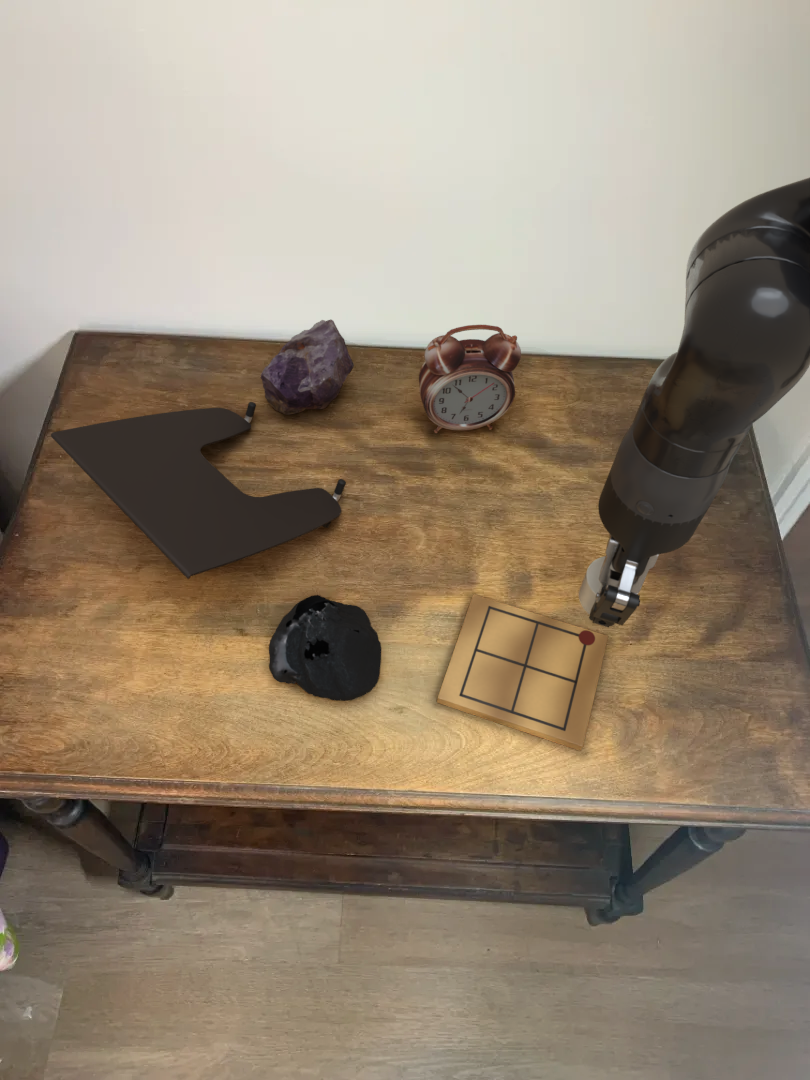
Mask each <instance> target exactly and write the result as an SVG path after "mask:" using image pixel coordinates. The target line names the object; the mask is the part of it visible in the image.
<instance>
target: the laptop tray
mask: <svg viewBox="0 0 810 1080" xmlns="http://www.w3.org/2000/svg"><path fill="white" fill-rule="evenodd" d="M256 408H257V404H256V402H253V401H250V402H248V404H247V407H246V411H245V416H244V417H242V416H241V415H240V414H238V413H236V412H234V410H231V409H228V408H224V407H205V408H196V409H195V408H194V409H185V410H184V409H183V410H178V411H177V410H176V411H169V412H168V411H167V412H160V413H153V414H147V415H141V416H134V417H128V418H122V419H117V420H110V421H105V422H98V423H94V424H87V425H83V426H78V427H77V426H76V427H73V428H68V429H67V428H66V429H63V430H57V431H53V432H52V433H51V434H50V437H51V439H53V440H54V441H55V442H56V444H57V445H59V447H60V448H61V449H63V451H64V452H65V453H66V454H67V455H68V456H69V457H70V458H71V459H72V460H73V461H74V462H75V463H76V464H77V465H78V466H79V468H80V469H81V470H82V471H84V472H85V474H86V475H87V476H88V477H89V478H90V479H91V480H92V481H93V482H94V483H95V484H96V485H97V486H98V487H99V488H100V489H101V490H102V492H103V493H105V495H107V497H108V498H109V499H110V500H111V501H112V502H113V503H114V504H115V505H116V506H117V507H118V508H119V509H120V510H121V511H122V512H123V513H124V514H125V515H126V516H127V517H128V518H129V519H130V521H132V523H133V524H134V525H135V526H136V527H137V528H138V529H139V530H140V532H142V533H143V534H144V536H146V537H147V538H148V540H149V541H151V542H152V543H153V544H154V545H155V547H156V548H157V549H158V550H159V551H160V552H161V553H162V554H163V555H164V556H165V557H166V558H167V559H168V560H169V562H171V563H172V564H173V565H174V566H175V568H177V570H178V571H179V572H180V573H181V574H182V575H183V576H184V578H186V579H187V580H189V579H191V577H193V576H197V575H200V574H203V573H206V572H209V571H212V570H215V569H219V568H221V567H225V566H228V565H230V564H233V563H236V562H238V561H242V560H244V559H247V558H250V557H252V556H255V555H258V554H260V553H263V552H266V551H269V550H271V549H274V548H276V547H278V546H282V545H284V544H286V543H289V542H291V541H294V540H296V539H298V538H301V537H303V536H305V535H307V534H309V533H311V532H314V531H315V530H318V529H320V528H322V527H323V528H326V529H329V528H330V527H331V523H332V522H333V521H335V520H336V519H338V518H339V517H340V516H341V514H342V507H341V505H340V504H339V500H340V498H341V496H342V495H343V492H344V489H345V487H346V485H347V481H346V480H345V479H343V478H339V479H338V480H337V482H336V484H335V488H334V491H333V494H332V493H331V494H330V492H328V491H327V490H326V489H324V488H322V487H314V488H312V487H311V488H305V489H298V490H291V491H284V492H279V493H274V494H270V495H264V496H253V495H249V494H247V493H245V492H243V491H242V490H241V489H239V488H238V487H237V486H236V485H234V483H232V481H230V480H229V479H228V478H227V477H226V476H225V475H224V474H222V472H221V471H219V470H218V469H217V468H216V467H215V466H214V464H212V463H211V462H210V461H209V460H208V459H207V458H206V457H205V456H204V455H203V453H202V451H201V450H202V449H204V448H205V447H207V446H210V445H214V444H217V443H220V442H223V441H226V440H229V439H231V438H234V437H237V436H239V435H242V434H244V433H246V432H248V431H250V430H251V429H252V425H251V422H252V420H253V417H254V415H255V410H256Z"/></svg>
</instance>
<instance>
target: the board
mask: <svg viewBox="0 0 810 1080" xmlns="http://www.w3.org/2000/svg"><path fill="white" fill-rule="evenodd" d="M608 640H609V635H607V634H603V633H600V632H597V631H594V630H590V629H587V628H585V627H581V626H577V625H574V624H571V623H568V622H565V621H561V620H558V619H555V618H553V617H550V616H546V615H543V614H539V613H536V612H534V611H533V612H532V611H530V610H526V609H523V608H520V607H516V606H513V605H510V604H507V603H504V602H501V601H497V600H494V599H491V598H489V597H485V596H482V595H478V594H475V593H473V594H472V596H471V599H470V602H469V604H468V608H467V611H466V613H465V617H464V619H463V623H462V626H461V629H460V631H459V635H458V638H457V640H456V643H455V645H454V648H453V651H452V654H451V657H450V660H449V663H448V666H447V669H446V672H445V675H444V678H443V680H442V684H441V686H440V689H439V692H438V695H437V699H436V703H438V704H440V705H443V706H446V707H449V708H451V709H455V710H458V711H461V712H464V713H467V714H469V715H473V716H476V717H478V718H482V719H485V720H488V721H490V722H494V723H496V724H499V725H503V726H505V727H508V728H511V729H514V730H516V731H520V732H524V733H526V734H529V735H532V736H535V737H537V738H541V739H545V740H547V741H549V742H553V743H556V744H558V745H562V746H564V747H567V748H571V749H574V750H576V751H582V749H583V747H584V744H585V740H586V736H587V731H588V727H589V722H590V719H591V714H592V710H593V705H594V701H595V697H596V692H597V687H598V683H599V679H600V674H601V671H602V670H601V669H602V666H603V661H604V658H605V652H606V648H607V644H608Z"/></svg>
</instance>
